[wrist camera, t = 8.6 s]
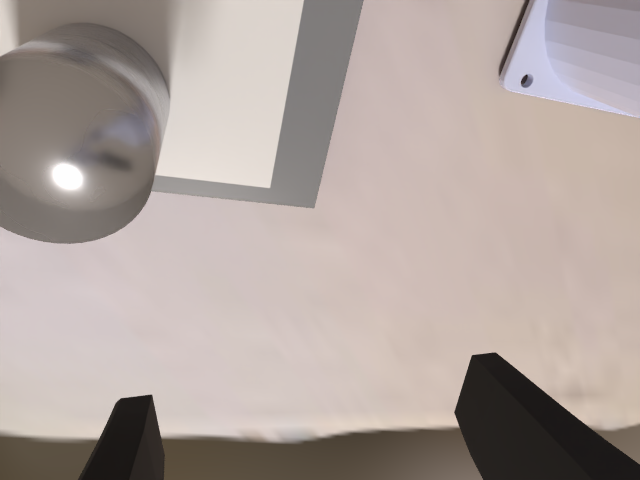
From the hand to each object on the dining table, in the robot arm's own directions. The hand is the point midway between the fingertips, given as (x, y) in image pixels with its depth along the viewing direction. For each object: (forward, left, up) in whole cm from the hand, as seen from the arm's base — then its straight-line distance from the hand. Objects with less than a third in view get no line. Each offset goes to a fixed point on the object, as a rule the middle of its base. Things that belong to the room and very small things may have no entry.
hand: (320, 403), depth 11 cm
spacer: (+6, -4, -8) cm, 11 cm away
